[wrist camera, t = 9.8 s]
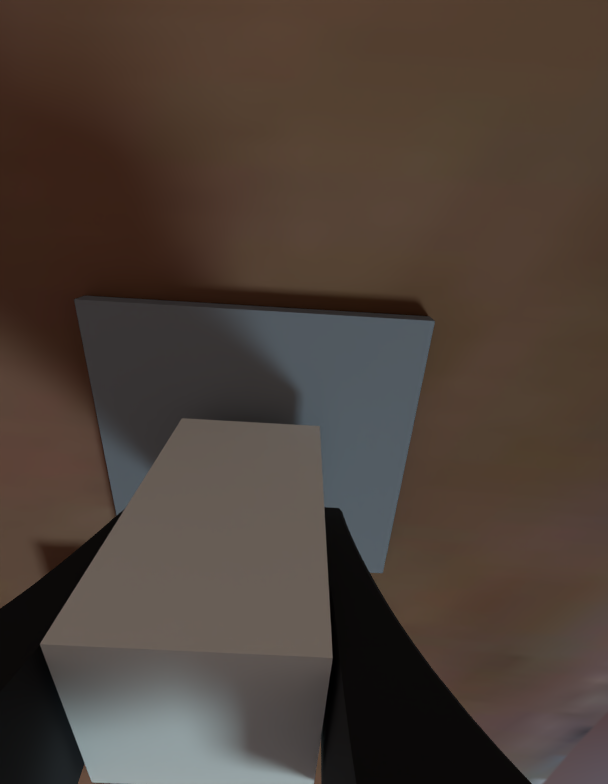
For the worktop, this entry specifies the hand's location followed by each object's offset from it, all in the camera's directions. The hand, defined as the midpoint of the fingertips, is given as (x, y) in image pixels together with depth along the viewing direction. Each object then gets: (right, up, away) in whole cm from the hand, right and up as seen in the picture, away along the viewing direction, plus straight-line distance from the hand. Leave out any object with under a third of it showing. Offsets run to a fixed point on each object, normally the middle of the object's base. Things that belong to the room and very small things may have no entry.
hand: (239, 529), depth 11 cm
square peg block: (0, +1, +2) cm, 2 cm away
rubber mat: (0, +2, +4) cm, 4 cm away
